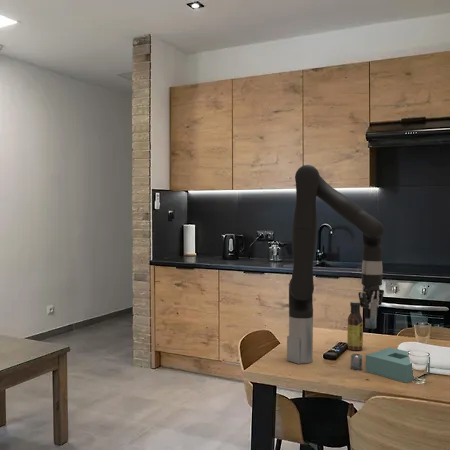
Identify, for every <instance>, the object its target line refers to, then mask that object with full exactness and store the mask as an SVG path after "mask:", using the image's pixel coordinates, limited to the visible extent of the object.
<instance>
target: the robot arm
mask: <svg viewBox="0 0 450 450" xmlns="http://www.w3.org/2000/svg"><path fill="white" fill-rule="evenodd" d="M294 177H295V178H294V180H295V188H296V189H295V190H296V191H295V194H296V195H295V198H296V199H295V200H296V201H295V208H294V212H293V219H292V227H291V228H292V230H291V231H292V232H291V233H292V234H291V249H292V256H293V257H292V258H293V264H292V265H293V267H292V268H293V269H292V276H291V279H290V280H289V284H288V336H287V337H286V361H288V362H291V363H294V364H297V365H301V364H309V363H312V362H313V355H314V353H313V350H314V347H313V346H314V345H313V344H314V331H313V330H314V304H313V295H314V290H315V286H314V259H315V254H316V245H317V234H318V233H317V231H318V223H317V222H318V219H317V217H318V216H317V204H316V203H317V202H316V201H317V198H319V199H320V200H322V201H323V202H324V203H325V204H327V205H328V206H329V207H330V208H331V209H332V210H333V211H334V212H335V213H337V214H338V215H339V216H340V217H342V218H343V219H344V220H346V221H347V222H349V223H350V224H351V225H353V226H355V228H357V229H358V230H359V231H361V232H362V242H363V243H362V244H363V249H362V263H361V285H363V290H362V292H360V291H359V292H358V299H359V302H360V308H363V310H364V311H363V313H364V315H363V316H364V319H365V318H366V319H370V317H371V309H370V308H371V303H373V299H377V312H378V311H379V310H378V309H379V307H380V306H381V305H382V303H383V298H384V294H385V290H384V289H380V287H382V285H383V248H382V245H381V244H382V235H383V234H384V230H385V227H384V225H383V223H382V222H381V221H379V220H378V219H377V218H376V217H374V216H373V215H371V214H369V212H366V211H365V210H364V209H363V208H362V207H361V206H359V205H358V204H357V203H355V202H354V201H353V200H352V199H350V198H349V197H348V196H346V195H344V194H343V193H341V192H340V191H338V190H336V188H334V187H332V186H331V185H330V184H329V183H327V182H326V180H325V179H324V178H323V177H321V175H320V172H319V170H318V169H317V168H316V167H315V166H314V165H312V164H305V165H302V166H300V167H299V168H298V169H297V170H296V172H295V175H294ZM367 299H370V300H367ZM367 302H368V303H367ZM377 317H378V313H377V314H376V318H377Z"/></svg>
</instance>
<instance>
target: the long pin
mask: <svg viewBox="0 0 450 450" xmlns="http://www.w3.org/2000/svg"><path fill="white" fill-rule="evenodd" d="M367 300H370V299H367ZM367 303H368V302H367ZM370 309H371V317H370V319H366V318H365V317H364V325H365V326H364V327H365V328H367V329H372V330H375V329H377V317H376V314H377V315H378V311H377V299H373V303H371V308H370Z"/></svg>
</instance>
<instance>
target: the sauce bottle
mask: <svg viewBox="0 0 450 450" xmlns="http://www.w3.org/2000/svg"><path fill="white" fill-rule="evenodd" d="M349 306H350V313H349V315H348V317H347V349H348V350H350V351H355V352H356V351H363V346H364V344H363V341H364V339H363V338H364V334H363V333H364V320H363V317H362V314H361V309H360V308H361V306H360V301H353V300H352V301H350V305H349Z"/></svg>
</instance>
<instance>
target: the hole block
mask: <svg viewBox="0 0 450 450" xmlns="http://www.w3.org/2000/svg"><path fill="white" fill-rule="evenodd" d="M408 352H409V351H408V350H404V349H399V348H394V347H386V348H383V349H380V350H378V351H374V352H371V353H368V354H367V353H366V355H365V372H367V373H371V374H374V375H377V376H380V377H384V378H388V379H392V380H394V381H397V382H398V381H399V382H402V383H405V384H407V383H410V382H412V381H414V376H413V370H412V363H410V362H409V359H408V354H407V353H408ZM430 369H431V356H429V363H428V372H427V375H429V374H430V372H431V370H430Z"/></svg>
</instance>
